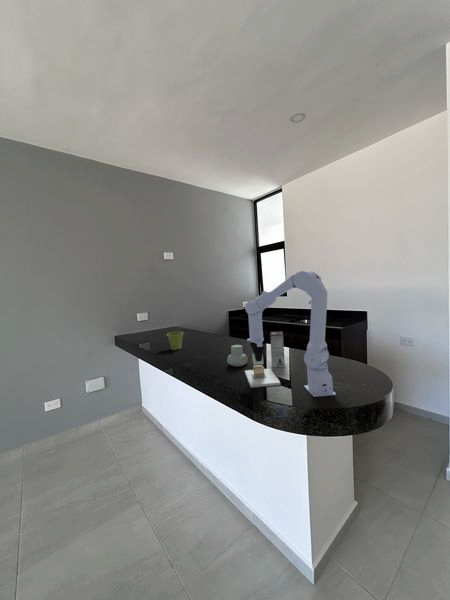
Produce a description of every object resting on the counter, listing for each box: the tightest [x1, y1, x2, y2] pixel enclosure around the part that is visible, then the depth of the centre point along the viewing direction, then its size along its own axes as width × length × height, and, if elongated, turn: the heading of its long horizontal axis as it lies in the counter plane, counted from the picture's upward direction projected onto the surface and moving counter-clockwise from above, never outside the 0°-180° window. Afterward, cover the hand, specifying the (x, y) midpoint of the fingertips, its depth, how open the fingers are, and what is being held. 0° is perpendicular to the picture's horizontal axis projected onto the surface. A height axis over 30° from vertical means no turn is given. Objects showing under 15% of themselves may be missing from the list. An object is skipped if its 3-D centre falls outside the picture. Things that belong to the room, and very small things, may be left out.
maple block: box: [252, 364, 265, 378], centre depth 108 cm, size 4×4×4 cm
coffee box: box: [269, 331, 286, 368], centre depth 126 cm, size 9×6×16 cm
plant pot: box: [166, 331, 184, 351], centre depth 177 cm, size 12×12×11 cm
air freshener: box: [226, 344, 249, 367], centre depth 130 cm, size 11×8×10 cm
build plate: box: [244, 368, 281, 388], centre depth 108 cm, size 18×12×1 cm, turn 3°
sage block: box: [251, 352, 264, 366], centre depth 108 cm, size 4×4×4 cm
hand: (257, 359), depth 108 cm, fingers closed on sage block, 4 cm apart
